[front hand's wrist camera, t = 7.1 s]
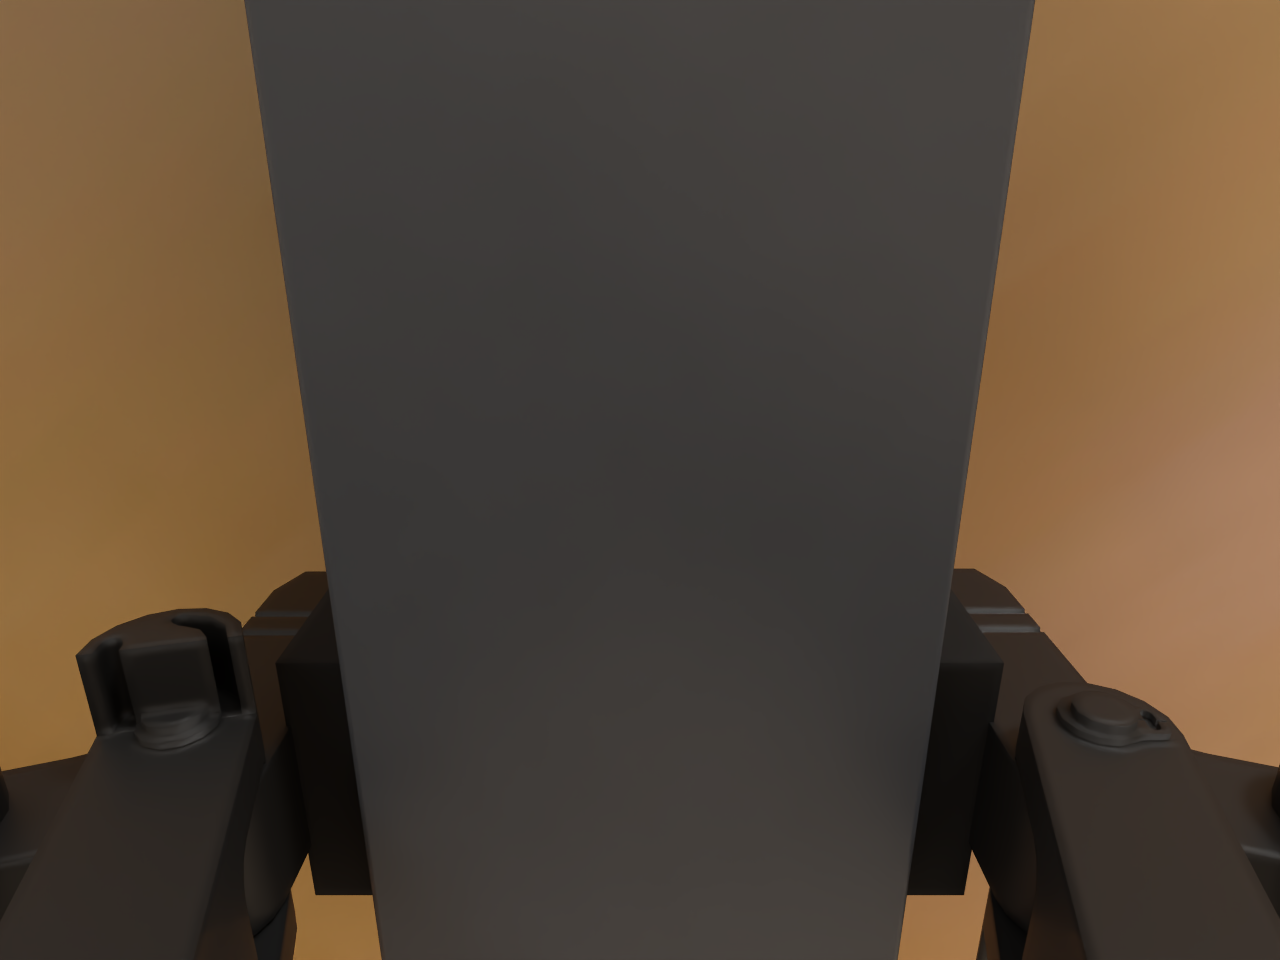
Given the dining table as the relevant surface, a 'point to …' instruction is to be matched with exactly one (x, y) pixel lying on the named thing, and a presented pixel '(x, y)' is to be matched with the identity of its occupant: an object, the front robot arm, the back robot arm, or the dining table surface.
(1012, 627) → the front robot arm
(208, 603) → the dining table surface
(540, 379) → the post
